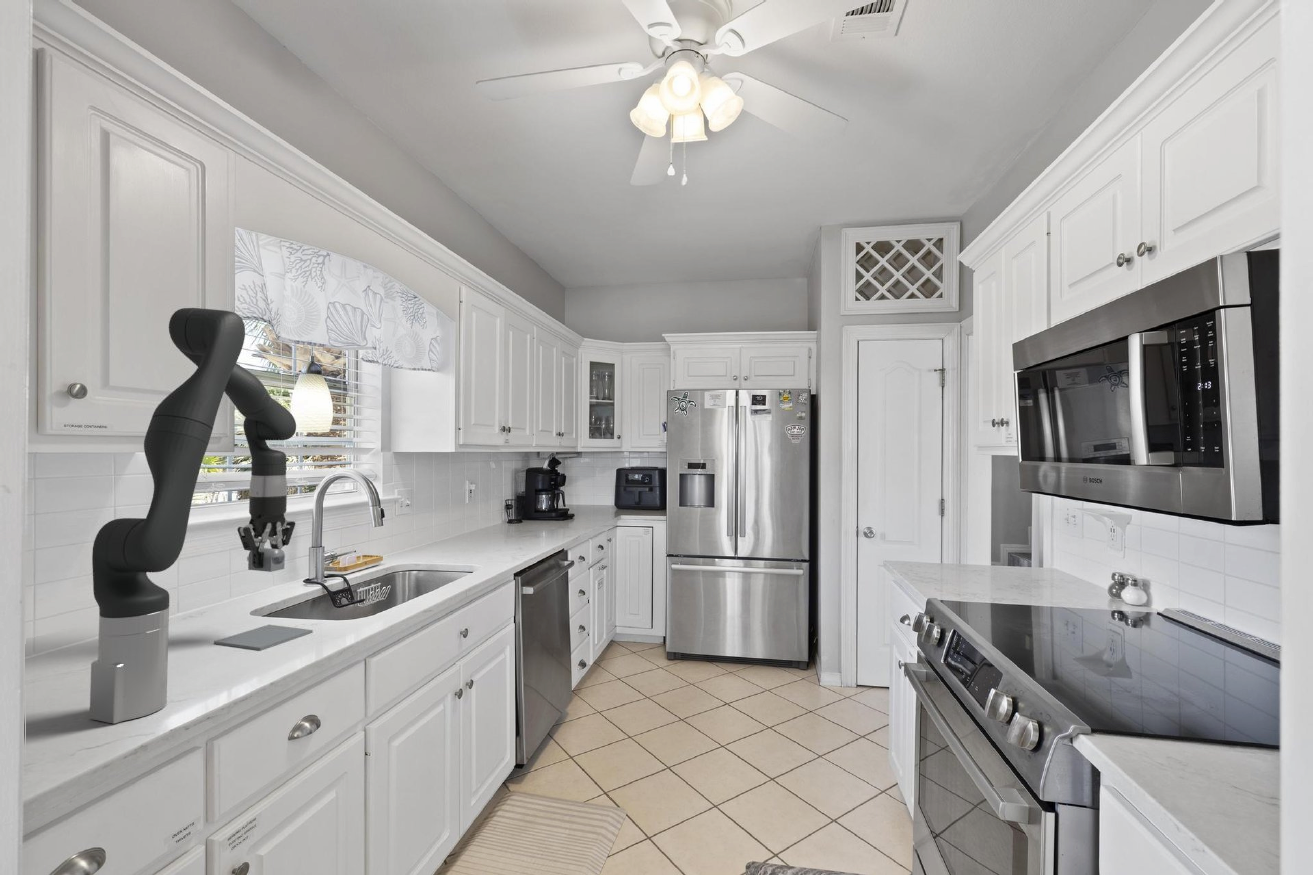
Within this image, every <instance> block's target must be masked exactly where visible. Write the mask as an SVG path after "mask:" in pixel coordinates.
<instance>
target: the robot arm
mask: <svg viewBox="0 0 1313 875" xmlns="http://www.w3.org/2000/svg"><path fill="white" fill-rule="evenodd" d="M168 333H169V336H170V339H171V341H172V343H173V345H174V346H175V347H176V348H177V349H178V350H179V351H180V352H181V353H182V354H183V355H184V356H185V357H186V358H187V359H189V360H190V361H191V362H192V363H193V364H194V365H195V366H196V367H197V369H196V370H195V371H194V373H193V374H192V375H191V376H190V377H189V378H188V379H186V380H185V381H184V382H183V383H182V384H181V385H179V386H178V387H177V388H175V389H174V390H173V391H172V392H170V394H168V395H167V396H166V397H165V398H164V399H163V400H162V401H161V402H160V403H159V404H157V407H156V408H155V410H154V411H153V414H152V416H151V419H150V423H149V424H148V428H147V430H146V433H145V437H144V441H143V451H144V454H145V457H146V458H145V459H146V462H147V465H148V468H149V470H150V474H151V477H152V481H153V494H152V499H151V502H150V506H149V510H148V512H147V514H146V517H145V518H139V517H137V518H134V517H122V518H121V517H120V518H116V519H112V520H110V521H108V522H107V523H105V524H104V525H103V526H102V527H101V528H100V529H99V530H98V532H97V533H96V536H95V538H94V541H93V546H92V552H91V553H92V555H91V560H92V562H91V563H92V585H93V597H94V600H95V602H96V603H97V605H98V609H99V610H98V612H99V614H98V616H99V617H98V641H97V642H98V645H97V646H98V649H97V651H98V652H97V659H96V660H93V661H92V662H91V664H90V685H89V687H90V691H89V696H90V697H89V720H94V721H100V722H104V723H109V724H118V723H121V722H124V721H129V720H133V719H137V718H142V717H145V716H148V715H151V714H153V713H156V712H157V711H160V710H161V709H163V708H164V707H165V706H166V705H167V702H168V700H167V698H168V664H169V663H168V662H169V659H168V658H169V629H170V628H169V624H170V623H169V622H170V592H168V590H167V589H165V588H163V587H161V586H159V585H157V584H156V583H154V582H153V581H152V580H151V579H150V578H149V577H148V574H147V573H160V572H163V571H166V570H168V569H169V568H171V566H172V565H174V564H175V562H176V561H177V560H178V558H179V557H180V554H181V552H182V550H183V547H184V543H185V539H186V534H187V530H188V524H189V519H190V513H191V507H192V502H193V497H194V493H195V489H196V485H197V482H198V478H199V473H200V470H201V467H202V463H203V461H204V460H203V459H204V457H205V454H206V452H207V450H208V446H209V443H210V440H211V436H212V433H213V429H214V425H215V422H216V417H217V414H218V411H219V409H220V405H221V401H222V399H223V396H224V393H225V394H226V396H227V397H228V398H229V399H230V401H231V402H232V404H233V405H234V406H235V408H236V409H237V411H238V412H239V413H240V414H241V415H242V416H243V417H244V421H243V431H244V432H243V433H244V436H245V438H246V441H247V444H248V445H247V446H248V448H249V452H250V456H251V468H250V469H251V472H250V474H251V476H250V483H249V503H248V509H249V510H248V513H249V515H250V520H249V523H248V524H247V525H244V526H238V527H237V532H238V536H239V538H240V542H241V545H242V548H243V550H244V551H248V552H250V551H251V552H252V565H253V566H254V568H263V556H264V552H263V550H264V548H265V545H266V543H267V542H268V541H269V545H270V546H269V547H270V548H271V549H281V550H282V548H283V547H285V546H288V545H289V544H290V541H291V538H292V535H293V532H294V529H295V527H296V522H295V521H291V520H287V519H286V517H285V514H286V513H287V504H288V502H287V501H288V500H287V498H288V494H287V493H288V481H287V455H286V452H284V451H281V450H276V449H273V448H271V447H269V445H268V443H267V441H287V440H289V439H291V438H292V437H293V436H294V435H295V433H296V430H297V423H296V419H295V417H294V416H293V414H292V413H291V412H290V411H289V410H288V409H287V408H286V407H284V406H283V405H282V404H281V403H279V402H278V401H277V400H275V399H274V398H273V397H272V396H271V394H270V393H269V392H268V390H267V388H266V387H265V385H264V384H263V383H262V382H261V380H260V379H259V378H258V377H257V376H256V375H255V374H253V373H252V372H250V371H249V370H248V369H246V368H244V366H241V365H240V364H238V363H237V362H238V359H239V357H240V355H241V352H242V349H243V346H244V343H245V337H246V326H245V322H244V320H243V318H242V317H241V316H240V314H238V313H237V312H235V311H230V310H224V309H223V310H221V309H211V308H202V307H201V308H199V307H184V308H179V309H177V310H176V311H174V312H173V314H172V315H171V317H170V318H169V322H168Z"/></svg>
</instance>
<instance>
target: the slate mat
mask: <svg viewBox="0 0 1313 875" xmlns="http://www.w3.org/2000/svg"><path fill="white" fill-rule="evenodd" d="M313 632H314V630H313V629H309V628H307V629H306V628H299V627H292V626H291V627H290V626H284V625H276V624H267V625H263V626H259V627H256V628H252V629H249V630H247V631H243V632H241V633H237V634H233V635H231V636H227V637H224V638H220V639H217V640H214V641H213V644H214V645H220V646H225V647H226V646H228V647H233V648H241V649H247V650H248V649H249V650H254V651H262V650H266V649H269V648H271V647H275V646H277V645H280V644H283V643H286V642H289V641H292V640H294V639H295V640H296V639H298V638H301V637H304V636H306V635H309V634H312V633H313Z"/></svg>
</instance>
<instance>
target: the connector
mask: <svg viewBox="0 0 1313 875" xmlns="http://www.w3.org/2000/svg"><path fill="white" fill-rule="evenodd" d="M248 552H249V553H248V556H246V561H247V562H248V565H247V566H248V569H247V570H248V571H259V572H268V573H269V572H270V573H272V572H277V571H281V570H285V552H284V550H282V548H281V549H272V548H271V547H269V548H268V547H267V548H266V547H264V550H263V552H264V556H263V568H254V566H253V565H252V552H251V551H248Z"/></svg>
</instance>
